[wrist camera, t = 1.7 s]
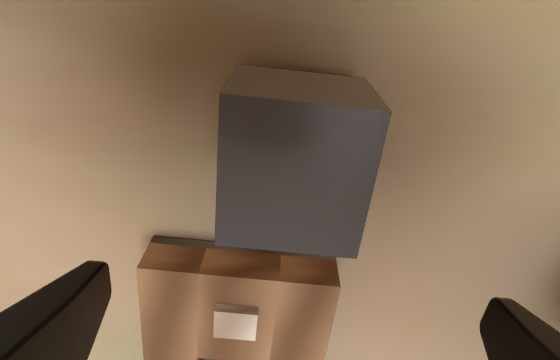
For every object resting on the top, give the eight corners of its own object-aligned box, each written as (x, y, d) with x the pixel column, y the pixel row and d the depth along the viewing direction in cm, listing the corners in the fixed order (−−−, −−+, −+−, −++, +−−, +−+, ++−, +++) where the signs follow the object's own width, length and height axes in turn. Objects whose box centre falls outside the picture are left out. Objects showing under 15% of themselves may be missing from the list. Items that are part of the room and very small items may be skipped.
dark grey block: (357, 68, 19) (391, 111, 13) (337, 179, 22) (356, 258, 15) (242, 56, 19) (219, 93, 13) (236, 168, 22) (214, 245, 15)
